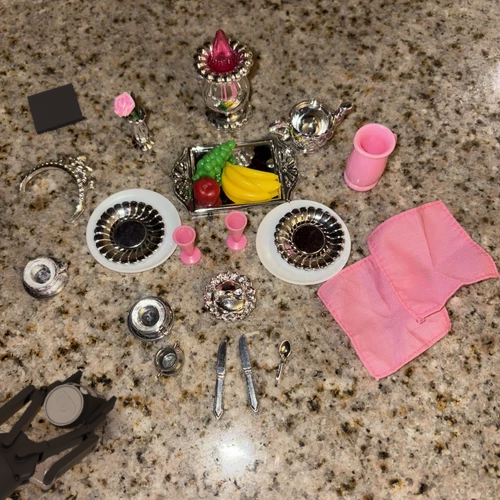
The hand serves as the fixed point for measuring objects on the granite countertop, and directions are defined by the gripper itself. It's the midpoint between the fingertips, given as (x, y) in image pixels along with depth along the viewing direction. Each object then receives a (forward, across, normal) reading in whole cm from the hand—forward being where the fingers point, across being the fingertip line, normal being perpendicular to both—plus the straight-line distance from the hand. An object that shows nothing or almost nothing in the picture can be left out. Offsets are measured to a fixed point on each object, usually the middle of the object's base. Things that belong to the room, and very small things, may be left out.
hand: (96, 389), depth 80 cm
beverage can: (0, 0, -5) cm, 5 cm away
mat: (+32, -48, +24) cm, 62 cm away
